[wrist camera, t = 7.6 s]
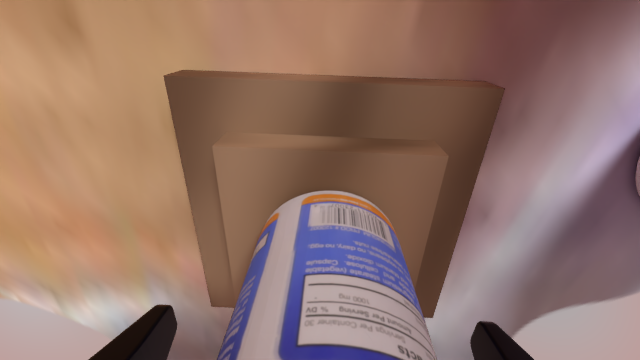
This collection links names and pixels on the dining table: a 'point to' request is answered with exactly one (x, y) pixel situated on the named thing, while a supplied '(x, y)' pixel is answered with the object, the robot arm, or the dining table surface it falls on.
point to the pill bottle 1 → (327, 287)
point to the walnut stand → (328, 159)
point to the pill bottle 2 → (638, 176)
